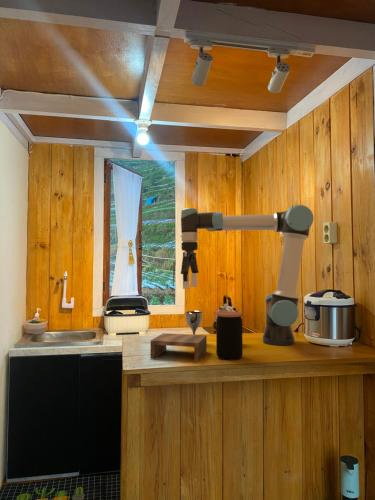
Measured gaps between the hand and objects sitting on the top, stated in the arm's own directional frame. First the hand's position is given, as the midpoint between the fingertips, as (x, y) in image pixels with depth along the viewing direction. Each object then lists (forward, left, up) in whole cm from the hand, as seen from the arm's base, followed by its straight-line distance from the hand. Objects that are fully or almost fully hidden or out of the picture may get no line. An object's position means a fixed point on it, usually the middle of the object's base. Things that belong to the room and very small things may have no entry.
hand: (190, 287), depth 171 cm
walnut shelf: (+1, +15, -27) cm, 31 cm away
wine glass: (0, -7, -27) cm, 28 cm away
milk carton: (-15, -10, -27) cm, 33 cm away
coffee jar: (-20, +14, -27) cm, 37 cm away
